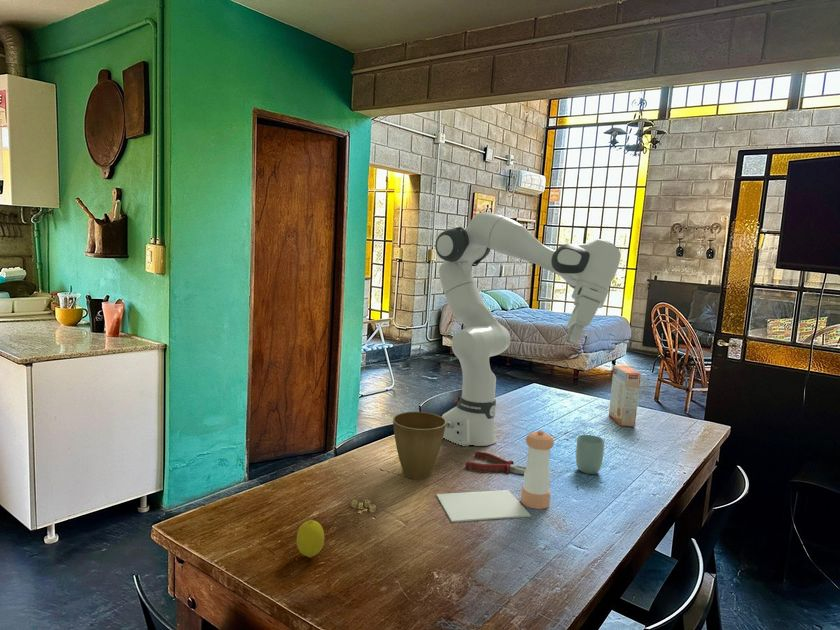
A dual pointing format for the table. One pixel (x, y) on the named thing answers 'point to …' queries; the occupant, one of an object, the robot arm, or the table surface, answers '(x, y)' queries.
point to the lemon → (310, 538)
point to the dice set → (367, 503)
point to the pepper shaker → (537, 471)
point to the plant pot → (418, 441)
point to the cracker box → (624, 395)
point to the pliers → (498, 467)
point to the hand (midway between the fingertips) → (570, 342)
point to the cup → (589, 453)
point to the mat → (481, 505)
